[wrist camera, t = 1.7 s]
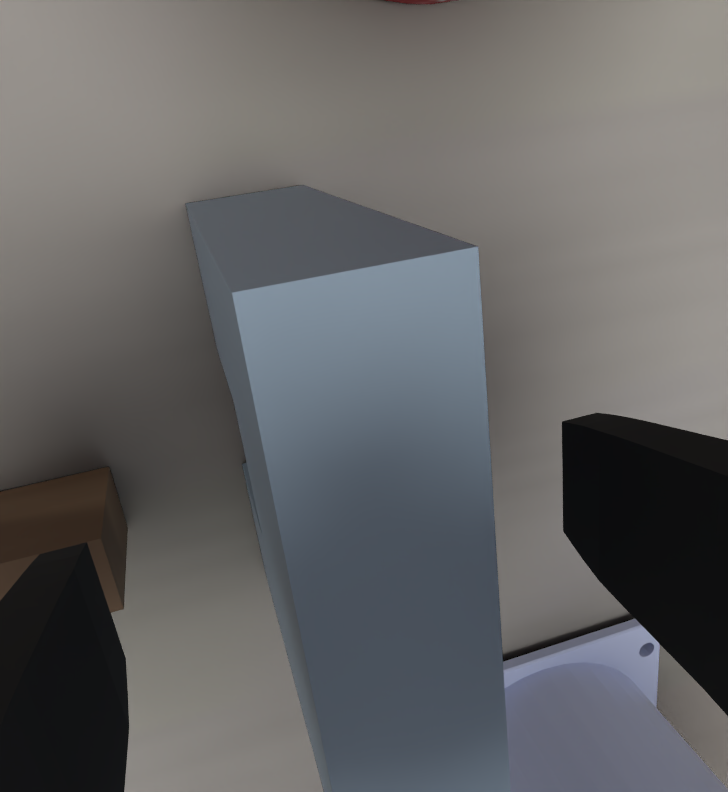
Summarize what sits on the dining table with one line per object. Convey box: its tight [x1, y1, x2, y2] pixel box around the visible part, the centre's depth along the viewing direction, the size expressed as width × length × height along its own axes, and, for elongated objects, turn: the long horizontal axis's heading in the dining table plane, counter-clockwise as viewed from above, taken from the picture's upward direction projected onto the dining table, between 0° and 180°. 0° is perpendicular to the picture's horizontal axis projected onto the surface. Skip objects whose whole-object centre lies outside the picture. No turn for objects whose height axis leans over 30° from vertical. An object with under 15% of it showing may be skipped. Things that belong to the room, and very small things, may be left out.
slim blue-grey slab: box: [185, 185, 511, 792], centre depth 12 cm, size 9×2×8 cm, turn 7°
